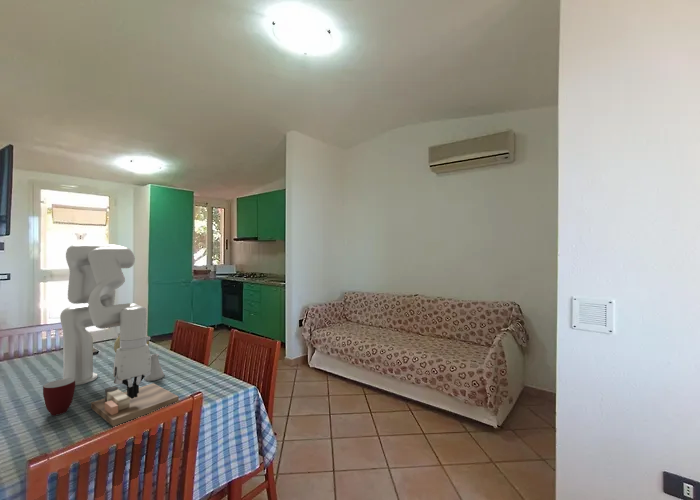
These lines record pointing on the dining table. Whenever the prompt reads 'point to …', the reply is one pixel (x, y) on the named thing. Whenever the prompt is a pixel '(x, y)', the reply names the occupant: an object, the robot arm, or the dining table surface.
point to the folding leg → (117, 397)
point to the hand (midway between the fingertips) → (132, 396)
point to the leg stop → (111, 407)
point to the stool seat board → (137, 404)
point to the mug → (59, 395)
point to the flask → (155, 369)
